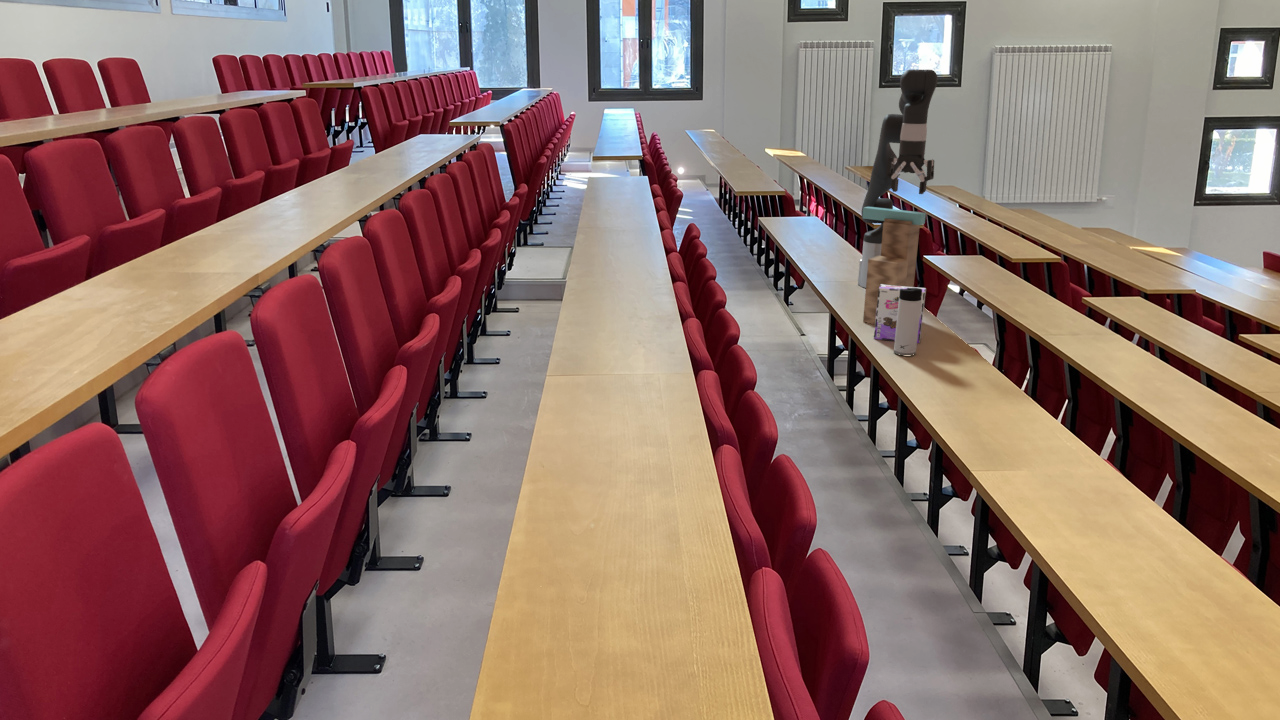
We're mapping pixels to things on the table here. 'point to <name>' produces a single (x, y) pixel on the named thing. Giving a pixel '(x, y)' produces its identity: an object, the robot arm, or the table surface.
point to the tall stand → (901, 244)
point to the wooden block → (882, 281)
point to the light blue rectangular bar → (893, 215)
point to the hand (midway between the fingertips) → (907, 192)
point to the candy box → (892, 312)
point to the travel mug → (907, 321)
